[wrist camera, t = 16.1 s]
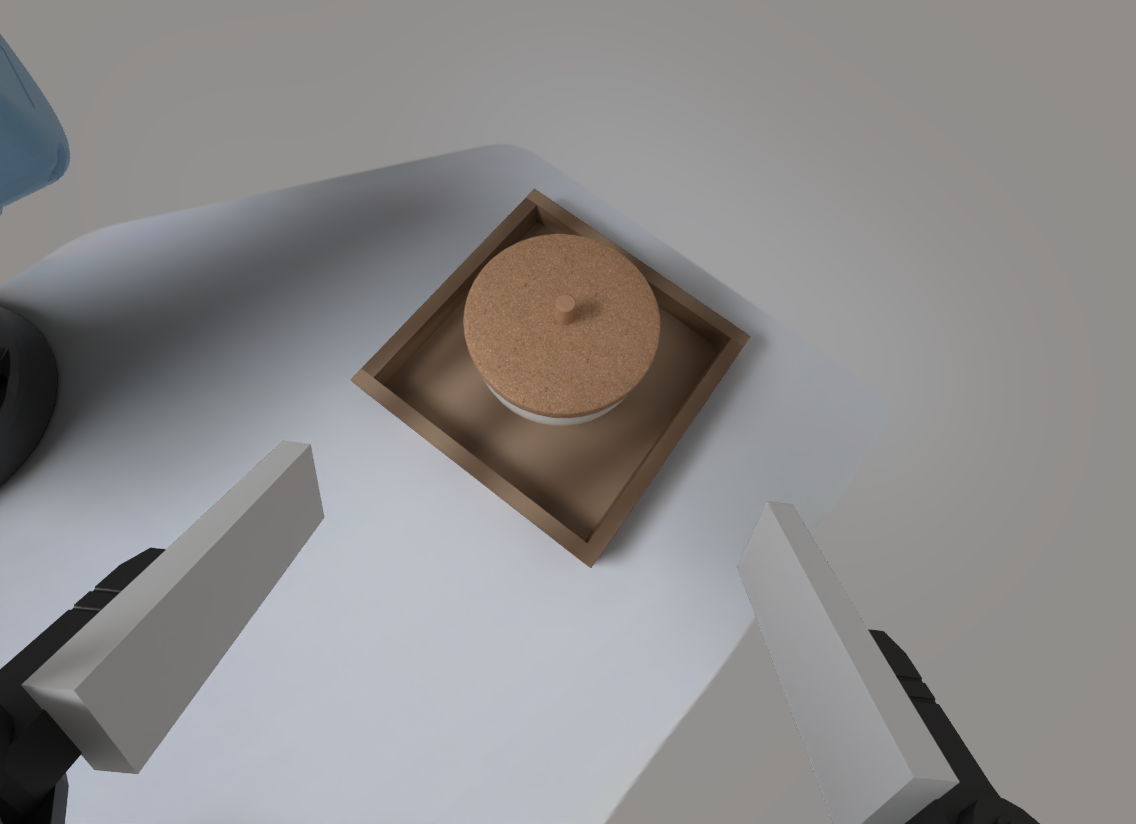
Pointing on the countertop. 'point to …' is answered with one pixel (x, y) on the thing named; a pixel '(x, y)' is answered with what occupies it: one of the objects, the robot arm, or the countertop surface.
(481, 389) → the walnut square tray
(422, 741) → the countertop surface
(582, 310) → the lidded jar
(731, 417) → the countertop surface
